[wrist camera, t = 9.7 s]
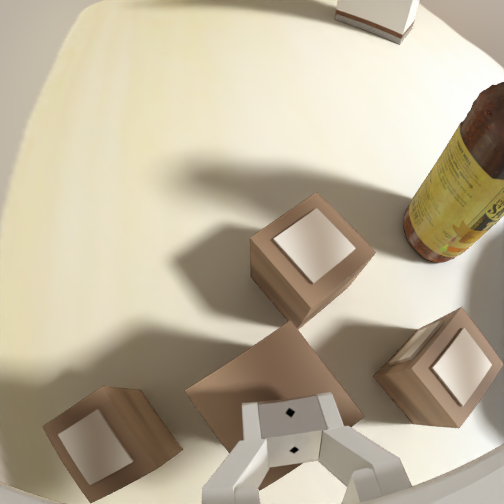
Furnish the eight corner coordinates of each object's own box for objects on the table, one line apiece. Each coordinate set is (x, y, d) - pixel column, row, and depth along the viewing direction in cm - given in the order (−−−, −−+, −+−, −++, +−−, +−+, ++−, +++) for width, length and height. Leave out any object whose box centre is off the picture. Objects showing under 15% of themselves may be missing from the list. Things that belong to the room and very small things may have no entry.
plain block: (257, 451, 18) (259, 490, 10) (213, 391, 20) (184, 390, 11) (319, 407, 19) (364, 415, 11) (275, 349, 21) (290, 320, 13)
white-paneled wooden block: (296, 331, 21) (311, 307, 16) (249, 274, 23) (247, 233, 17) (348, 287, 23) (377, 250, 17) (301, 236, 24) (314, 187, 19)
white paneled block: (412, 423, 18) (461, 428, 13) (370, 374, 20) (410, 365, 14) (454, 375, 19) (505, 363, 14) (415, 327, 21) (460, 303, 16)
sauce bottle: (437, 281, 23) (616, 103, 5) (386, 226, 25) (508, 4, 7) (471, 236, 24) (605, 77, 6) (425, 188, 26) (526, 6, 8)
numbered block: (128, 481, 17) (88, 504, 11) (88, 420, 18) (38, 423, 13) (183, 449, 18) (156, 468, 12) (138, 387, 20) (99, 382, 14)
